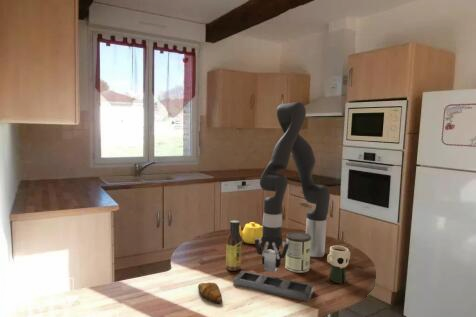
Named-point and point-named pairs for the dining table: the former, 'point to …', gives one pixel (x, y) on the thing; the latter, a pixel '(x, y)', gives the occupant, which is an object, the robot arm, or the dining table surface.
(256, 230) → the teapot
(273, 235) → the robot arm
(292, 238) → the coffee can
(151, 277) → the dining table surface
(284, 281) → the tray
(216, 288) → the croissant
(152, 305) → the dining table surface
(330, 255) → the character mug
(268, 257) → the white rectangular block
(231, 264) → the sauce bottle
